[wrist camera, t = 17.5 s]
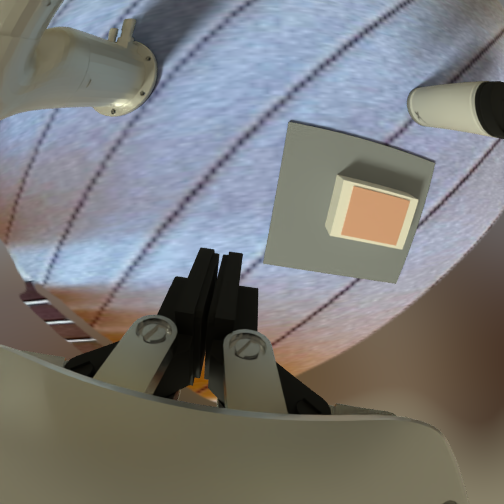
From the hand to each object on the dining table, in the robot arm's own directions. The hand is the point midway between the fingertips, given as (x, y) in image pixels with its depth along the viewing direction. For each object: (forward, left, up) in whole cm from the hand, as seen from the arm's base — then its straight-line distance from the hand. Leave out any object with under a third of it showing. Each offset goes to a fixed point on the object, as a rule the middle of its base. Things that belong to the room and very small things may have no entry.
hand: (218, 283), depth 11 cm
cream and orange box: (+3, +12, -29) cm, 31 cm away
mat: (+4, +16, -31) cm, 35 cm away
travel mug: (-15, +24, -31) cm, 42 cm away
